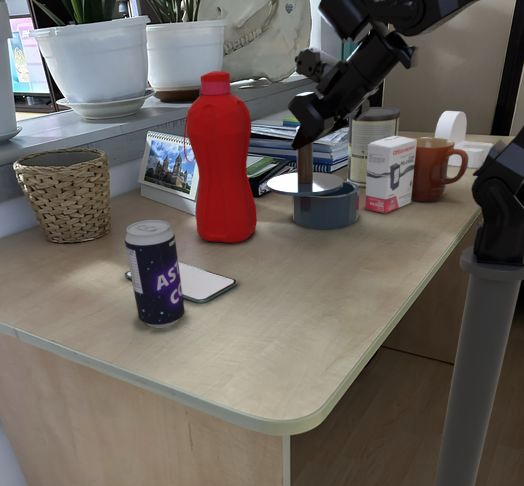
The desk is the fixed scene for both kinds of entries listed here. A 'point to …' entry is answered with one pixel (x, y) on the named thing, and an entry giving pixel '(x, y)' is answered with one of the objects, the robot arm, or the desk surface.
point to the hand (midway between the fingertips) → (297, 146)
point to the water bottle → (221, 161)
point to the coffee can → (368, 139)
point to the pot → (327, 208)
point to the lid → (305, 178)
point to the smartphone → (200, 283)
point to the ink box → (390, 173)
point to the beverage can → (155, 272)
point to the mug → (434, 168)
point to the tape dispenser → (461, 139)
